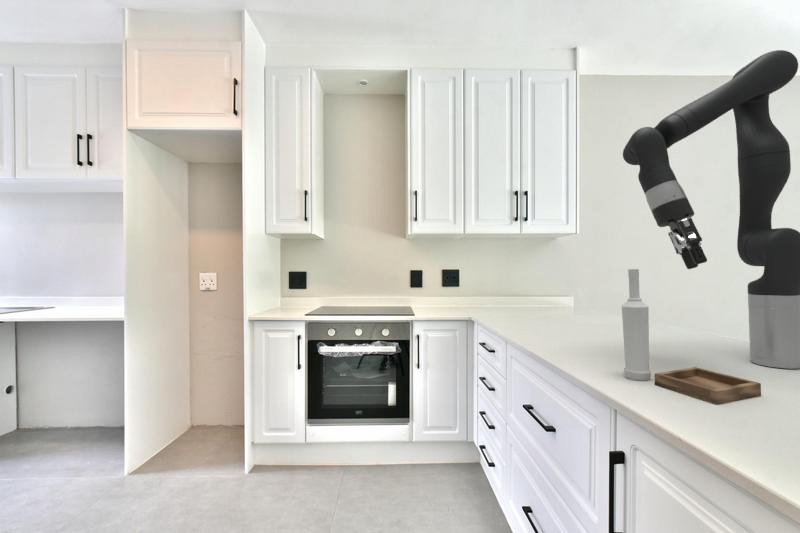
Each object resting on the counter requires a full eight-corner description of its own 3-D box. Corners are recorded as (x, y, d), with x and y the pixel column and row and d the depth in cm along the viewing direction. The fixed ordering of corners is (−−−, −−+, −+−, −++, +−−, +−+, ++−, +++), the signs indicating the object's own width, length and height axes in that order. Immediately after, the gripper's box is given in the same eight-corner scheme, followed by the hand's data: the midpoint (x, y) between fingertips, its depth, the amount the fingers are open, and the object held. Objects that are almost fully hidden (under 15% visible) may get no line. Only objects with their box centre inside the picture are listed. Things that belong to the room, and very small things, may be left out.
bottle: (655, 381, 80) (651, 269, 80) (629, 380, 82) (625, 269, 81) (644, 374, 86) (640, 268, 85) (620, 373, 87) (616, 269, 86)
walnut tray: (695, 377, 82) (695, 367, 82) (761, 395, 70) (760, 383, 70) (654, 384, 78) (654, 373, 78) (716, 404, 67) (716, 391, 67)
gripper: (693, 188, 81) (726, 255, 77) (680, 205, 94) (708, 264, 89) (654, 201, 84) (684, 267, 80) (647, 216, 97) (673, 274, 93)
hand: (697, 265), depth 85 cm, fingers open, 8 cm apart
